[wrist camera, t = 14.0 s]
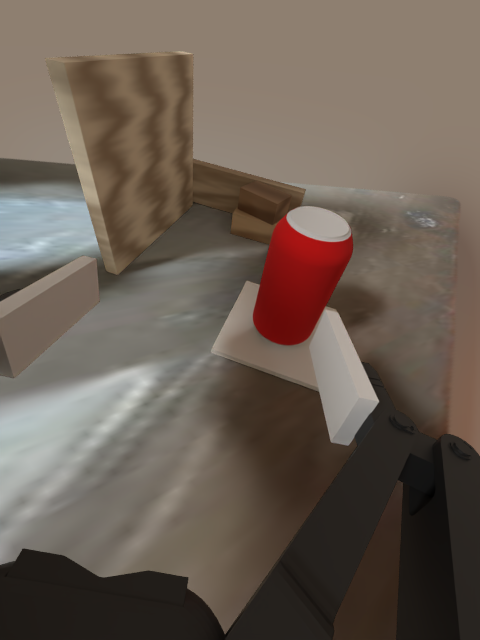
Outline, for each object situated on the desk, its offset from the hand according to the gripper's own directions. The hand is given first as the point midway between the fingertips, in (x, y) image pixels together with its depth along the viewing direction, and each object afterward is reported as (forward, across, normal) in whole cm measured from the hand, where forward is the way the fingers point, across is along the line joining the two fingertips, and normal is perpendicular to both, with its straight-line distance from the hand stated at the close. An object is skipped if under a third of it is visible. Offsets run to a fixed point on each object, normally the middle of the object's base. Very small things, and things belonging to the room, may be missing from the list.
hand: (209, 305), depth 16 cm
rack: (+24, -3, -4) cm, 24 cm away
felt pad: (+11, +7, -7) cm, 15 cm away
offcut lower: (+29, +3, -3) cm, 30 cm away
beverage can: (+10, +7, -7) cm, 14 cm away
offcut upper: (+28, +3, +1) cm, 28 cm away
